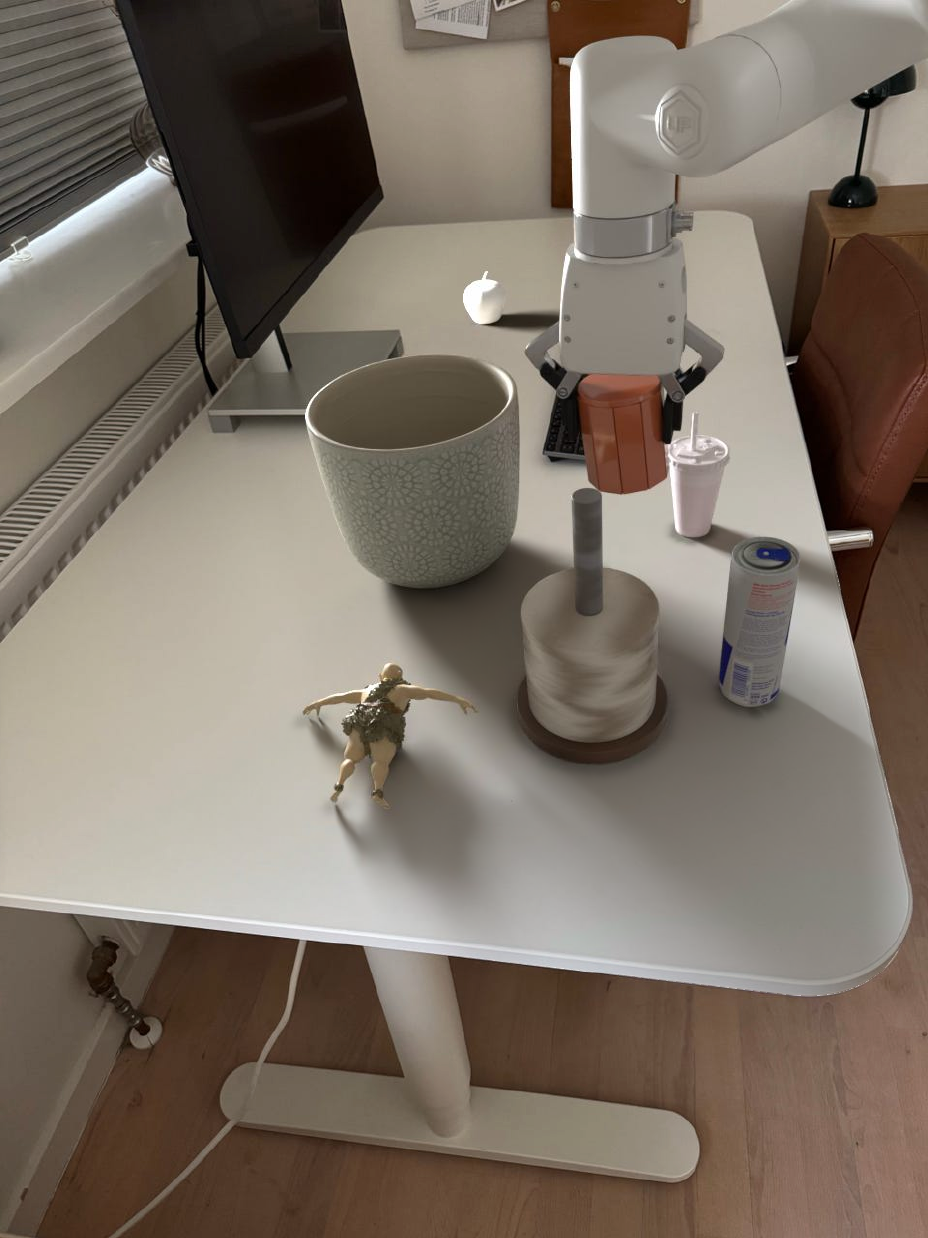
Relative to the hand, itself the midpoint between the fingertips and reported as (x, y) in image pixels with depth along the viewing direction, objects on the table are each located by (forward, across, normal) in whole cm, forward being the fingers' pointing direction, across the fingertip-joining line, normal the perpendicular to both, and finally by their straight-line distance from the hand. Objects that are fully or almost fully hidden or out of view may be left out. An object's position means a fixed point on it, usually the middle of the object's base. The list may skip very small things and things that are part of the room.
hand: (621, 433), depth 80 cm
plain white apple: (+18, +33, -69) cm, 78 cm away
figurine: (+18, +17, +25) cm, 35 cm away
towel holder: (+18, 0, +17) cm, 25 cm away
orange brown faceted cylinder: (+4, -1, 0) cm, 4 cm away
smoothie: (+18, -6, -12) cm, 22 cm away
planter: (+18, +21, -3) cm, 28 cm away
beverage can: (+18, -13, +13) cm, 26 cm away
